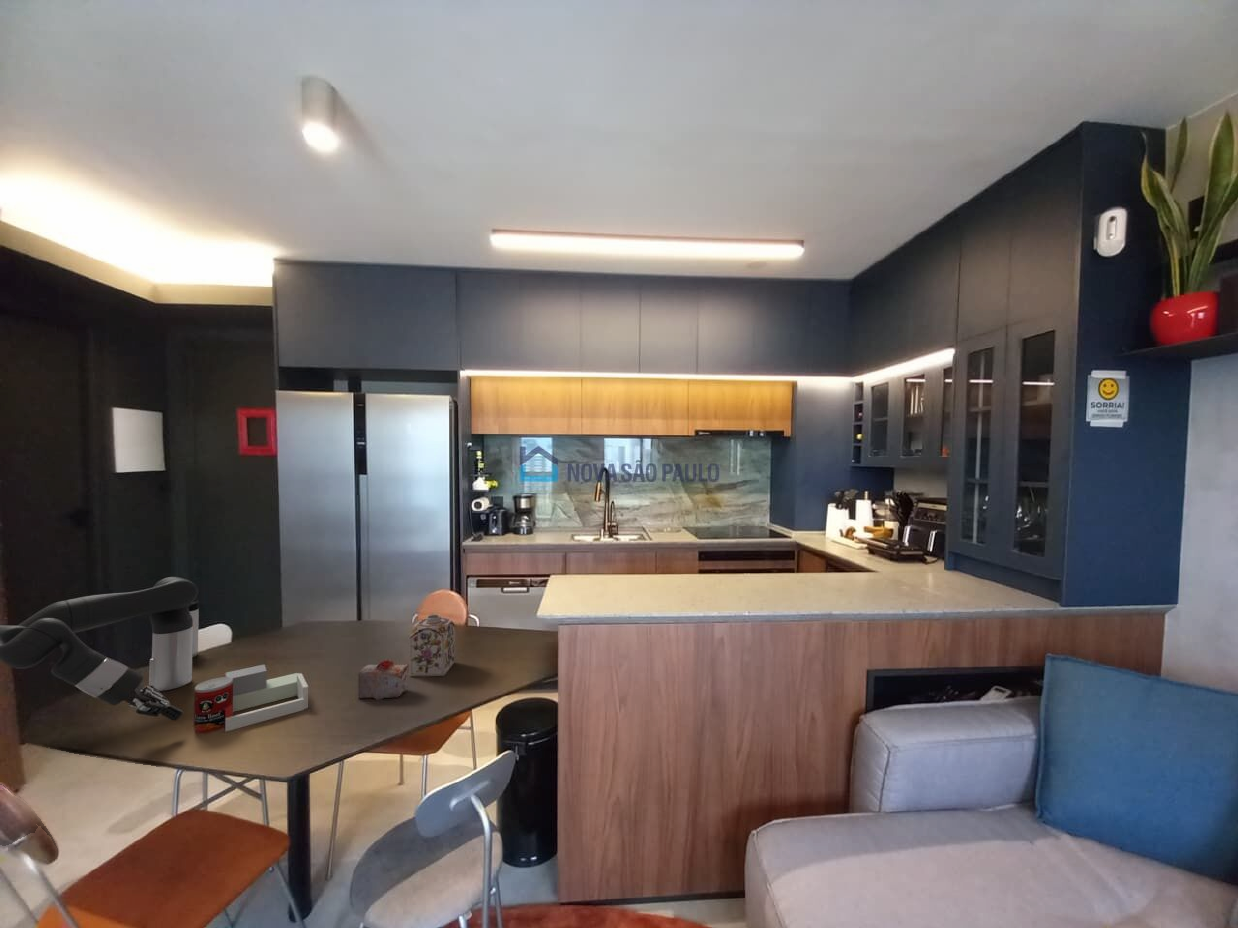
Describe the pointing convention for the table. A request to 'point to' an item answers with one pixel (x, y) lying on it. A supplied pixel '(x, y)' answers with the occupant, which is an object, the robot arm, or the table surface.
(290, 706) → the white open tray
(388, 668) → the food item
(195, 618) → the travel mug
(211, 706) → the canned food
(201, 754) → the table surface
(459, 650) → the table surface
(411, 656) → the decorative jar
